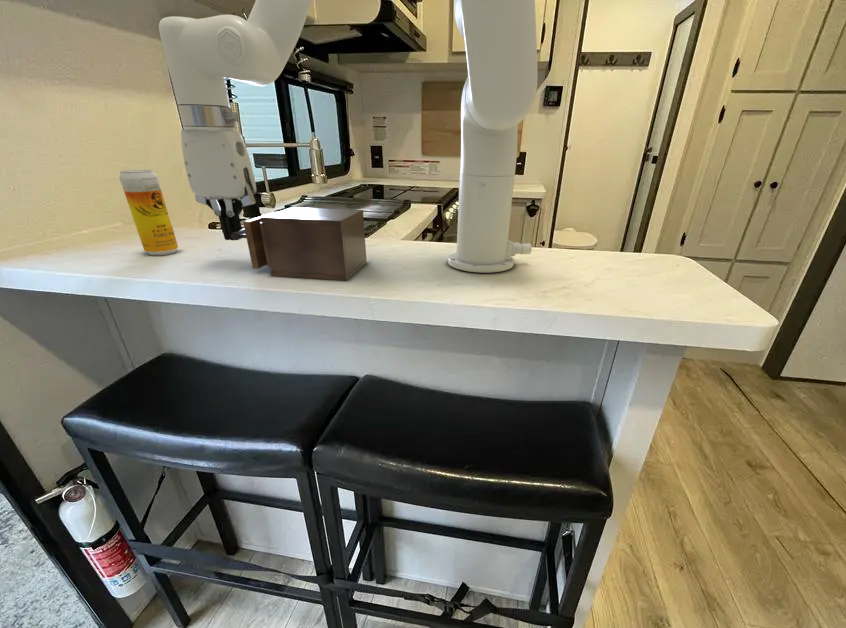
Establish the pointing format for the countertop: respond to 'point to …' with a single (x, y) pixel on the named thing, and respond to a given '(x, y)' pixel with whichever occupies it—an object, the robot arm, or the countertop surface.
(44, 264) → the countertop surface
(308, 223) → the cabinet
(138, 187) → the beer can
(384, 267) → the countertop surface
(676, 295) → the countertop surface
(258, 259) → the drawer
